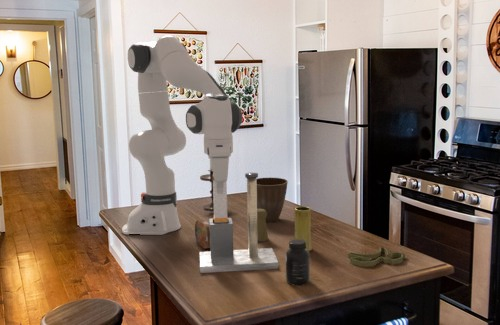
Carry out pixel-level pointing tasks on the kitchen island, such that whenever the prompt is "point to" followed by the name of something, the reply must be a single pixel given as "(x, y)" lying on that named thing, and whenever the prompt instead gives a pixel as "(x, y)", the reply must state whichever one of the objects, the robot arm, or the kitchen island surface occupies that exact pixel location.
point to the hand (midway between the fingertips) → (219, 191)
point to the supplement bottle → (297, 263)
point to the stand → (222, 242)
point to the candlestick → (210, 178)
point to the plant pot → (271, 196)
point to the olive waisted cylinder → (262, 225)
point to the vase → (303, 225)
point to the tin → (202, 233)
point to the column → (220, 204)
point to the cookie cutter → (366, 258)
